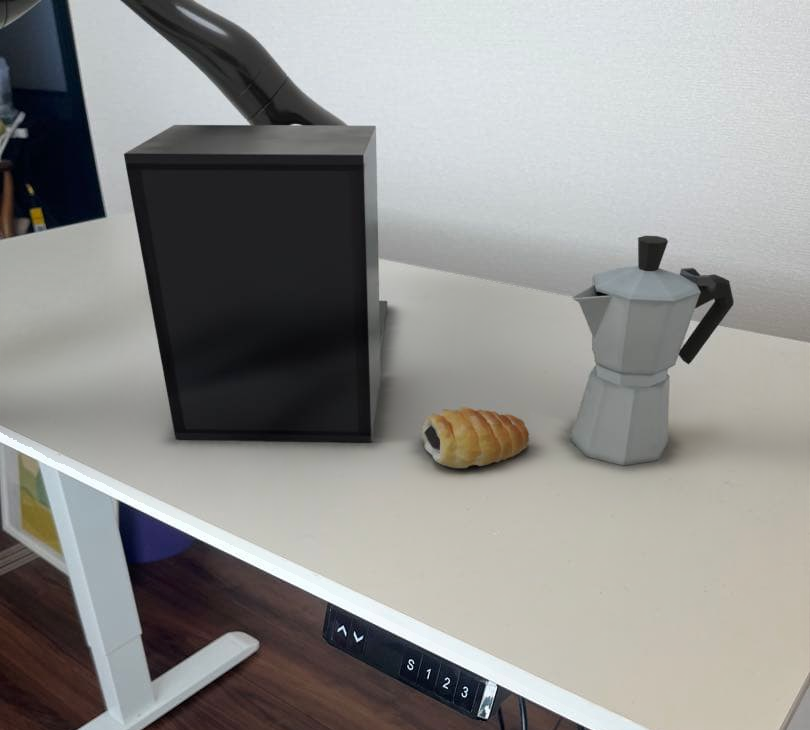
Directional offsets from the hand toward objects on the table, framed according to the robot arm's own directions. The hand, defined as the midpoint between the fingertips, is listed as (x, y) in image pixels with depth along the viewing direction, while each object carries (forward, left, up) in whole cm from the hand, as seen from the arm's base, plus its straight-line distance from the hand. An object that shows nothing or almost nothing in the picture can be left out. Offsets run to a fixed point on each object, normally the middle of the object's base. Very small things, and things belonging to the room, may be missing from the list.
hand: (277, 230), depth 75 cm
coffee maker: (+34, -5, -16) cm, 38 cm away
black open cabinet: (-1, +6, -16) cm, 17 cm away
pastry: (+20, -10, -16) cm, 27 cm away
